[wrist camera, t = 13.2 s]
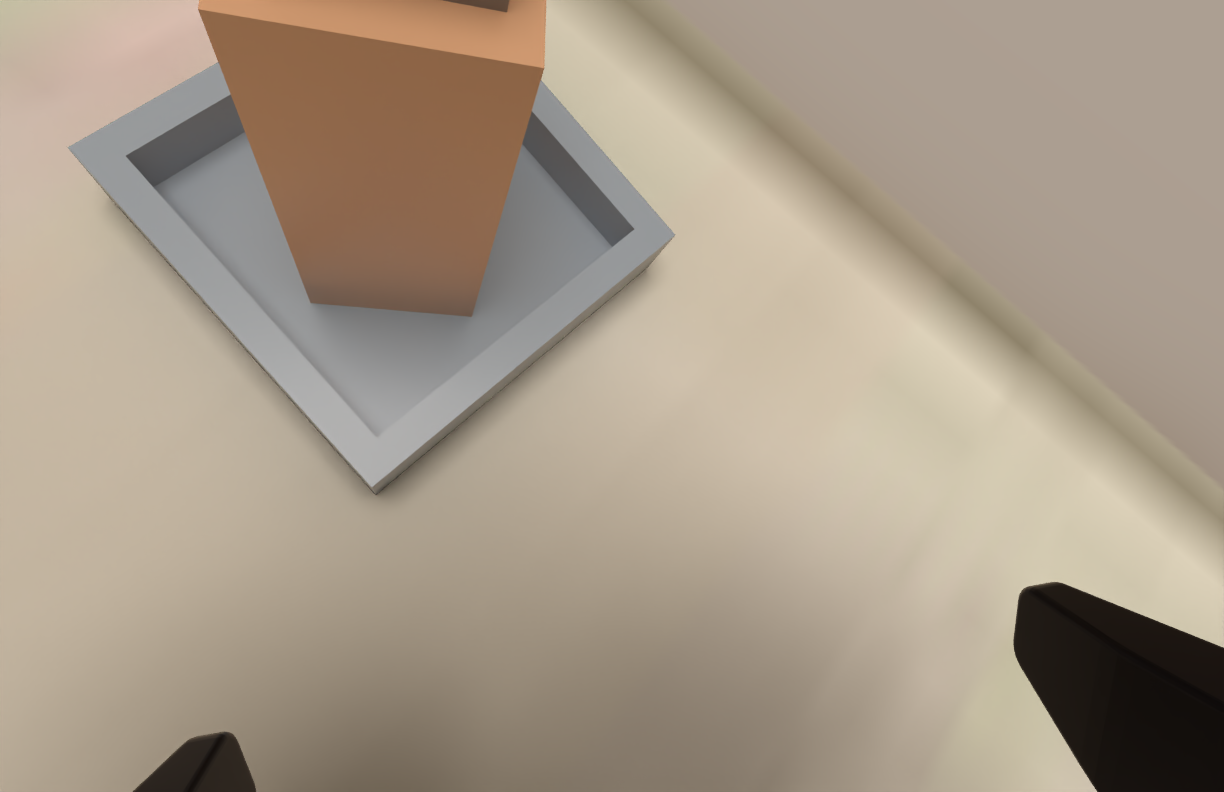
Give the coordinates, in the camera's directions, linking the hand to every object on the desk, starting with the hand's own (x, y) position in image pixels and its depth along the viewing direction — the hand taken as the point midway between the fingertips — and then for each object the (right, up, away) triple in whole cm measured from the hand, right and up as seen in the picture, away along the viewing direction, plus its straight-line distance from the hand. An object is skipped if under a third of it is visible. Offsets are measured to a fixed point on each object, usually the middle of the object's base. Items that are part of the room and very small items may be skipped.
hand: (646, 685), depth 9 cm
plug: (-6, +8, +12) cm, 15 cm away
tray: (-6, +8, +12) cm, 16 cm away
